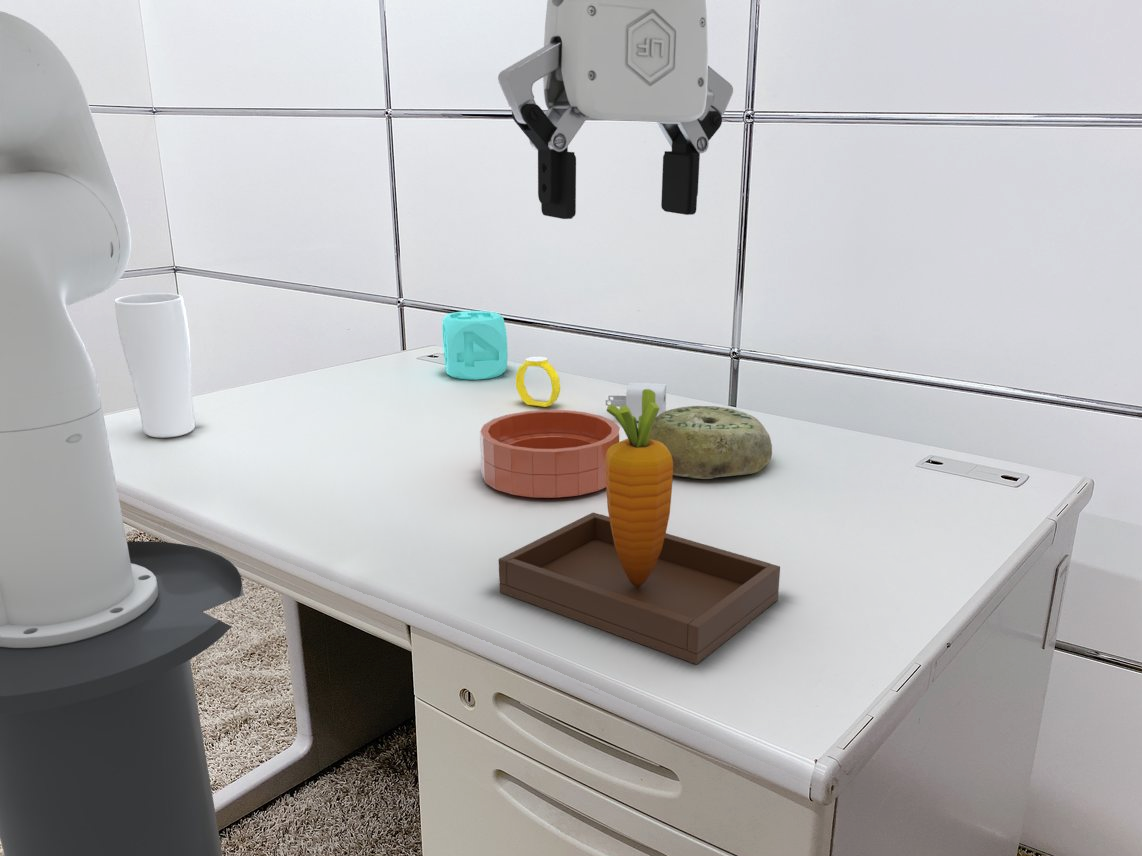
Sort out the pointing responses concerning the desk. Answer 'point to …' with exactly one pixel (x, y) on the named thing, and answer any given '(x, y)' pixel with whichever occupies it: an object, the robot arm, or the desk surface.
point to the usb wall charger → (640, 398)
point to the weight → (712, 441)
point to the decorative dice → (474, 344)
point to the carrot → (638, 490)
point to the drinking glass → (158, 360)
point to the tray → (642, 588)
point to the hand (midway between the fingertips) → (620, 214)
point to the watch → (551, 373)
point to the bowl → (547, 452)
